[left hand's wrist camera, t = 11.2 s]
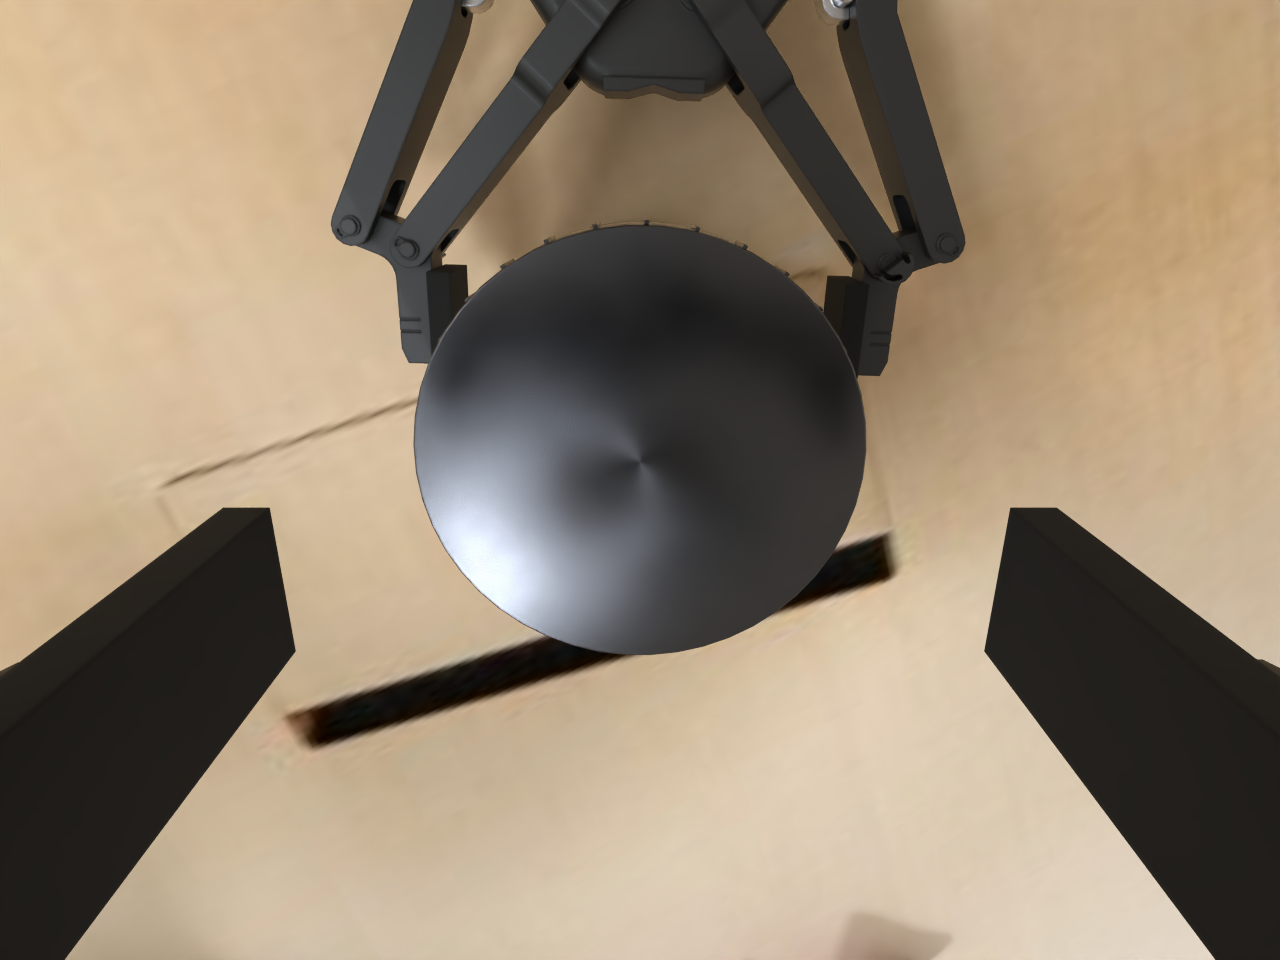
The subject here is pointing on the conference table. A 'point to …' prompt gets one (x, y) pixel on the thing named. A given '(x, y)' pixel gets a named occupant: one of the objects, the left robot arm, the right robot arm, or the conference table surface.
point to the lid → (640, 438)
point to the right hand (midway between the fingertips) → (642, 456)
